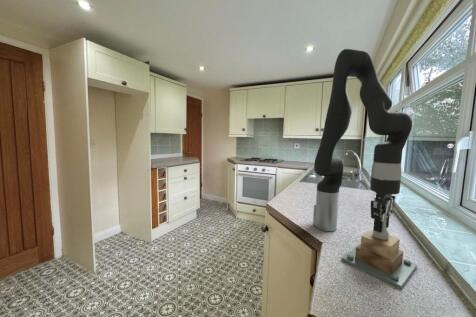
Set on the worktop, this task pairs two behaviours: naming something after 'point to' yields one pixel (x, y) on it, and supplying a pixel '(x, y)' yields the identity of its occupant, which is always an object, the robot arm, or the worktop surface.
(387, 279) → the baseplate
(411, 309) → the worktop surface
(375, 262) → the stepped wooden plinth
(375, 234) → the rook chess piece
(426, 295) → the worktop surface
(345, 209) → the worktop surface
